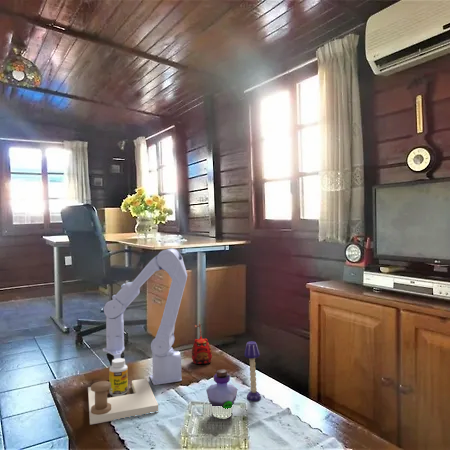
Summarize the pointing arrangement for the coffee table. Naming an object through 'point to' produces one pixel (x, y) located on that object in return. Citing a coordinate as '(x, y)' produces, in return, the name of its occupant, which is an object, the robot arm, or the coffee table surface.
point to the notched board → (120, 402)
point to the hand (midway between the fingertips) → (115, 374)
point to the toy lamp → (252, 369)
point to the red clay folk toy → (201, 350)
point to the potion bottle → (222, 390)
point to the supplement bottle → (118, 377)
